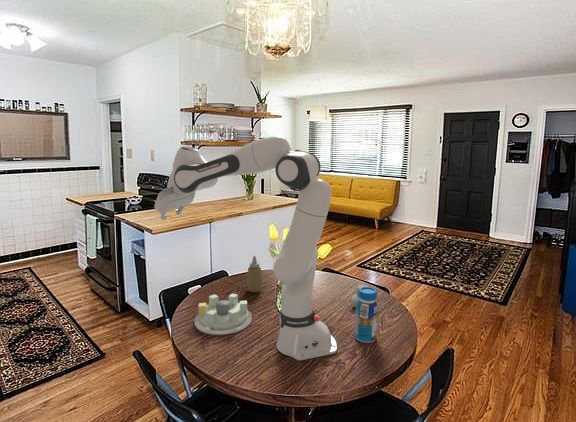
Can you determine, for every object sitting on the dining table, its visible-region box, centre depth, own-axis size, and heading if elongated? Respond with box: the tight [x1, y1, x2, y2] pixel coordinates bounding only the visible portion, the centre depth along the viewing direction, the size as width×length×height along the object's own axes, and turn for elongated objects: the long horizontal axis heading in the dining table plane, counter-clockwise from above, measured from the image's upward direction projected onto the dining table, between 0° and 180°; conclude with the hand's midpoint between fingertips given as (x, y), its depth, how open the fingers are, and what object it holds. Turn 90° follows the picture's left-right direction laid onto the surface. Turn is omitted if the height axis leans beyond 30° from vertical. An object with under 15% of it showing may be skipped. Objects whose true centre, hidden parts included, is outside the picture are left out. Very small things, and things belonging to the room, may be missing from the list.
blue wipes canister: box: [354, 286, 379, 344], centre depth 142 cm, size 8×8×20 cm
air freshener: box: [350, 284, 370, 309], centre depth 168 cm, size 11×8×10 cm
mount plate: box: [193, 310, 253, 336], centre depth 155 cm, size 24×24×3 cm
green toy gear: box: [197, 293, 249, 330], centre depth 155 cm, size 21×21×6 cm
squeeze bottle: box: [246, 255, 263, 293], centre depth 184 cm, size 8×8×18 cm
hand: (170, 216), depth 149 cm, fingers open, 8 cm apart
